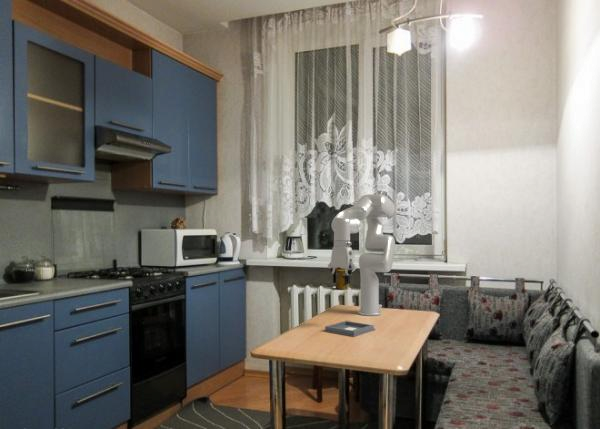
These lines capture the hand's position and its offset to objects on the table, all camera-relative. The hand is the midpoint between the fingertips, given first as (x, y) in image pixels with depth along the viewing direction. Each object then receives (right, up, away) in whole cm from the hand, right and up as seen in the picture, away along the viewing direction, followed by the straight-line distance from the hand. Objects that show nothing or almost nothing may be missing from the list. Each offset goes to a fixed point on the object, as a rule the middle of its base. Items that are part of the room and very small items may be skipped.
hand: (341, 282), depth 230 cm
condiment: (-1, -3, 0) cm, 3 cm away
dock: (+3, -20, -10) cm, 22 cm away
